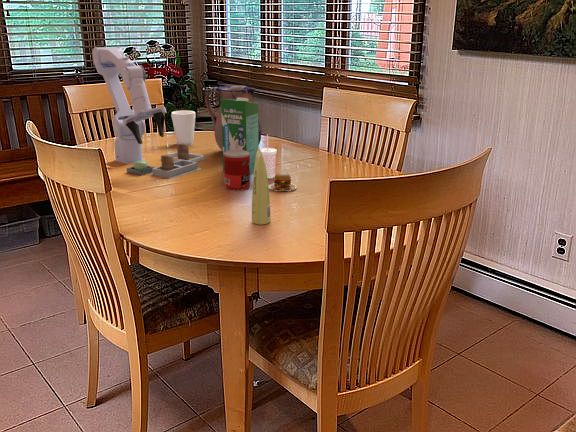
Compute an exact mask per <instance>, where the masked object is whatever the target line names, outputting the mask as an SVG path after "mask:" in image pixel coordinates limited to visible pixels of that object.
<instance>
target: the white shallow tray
mask: <svg viewBox="0 0 576 432" xmlns="http://www.w3.org/2000/svg"><path fill="white" fill-rule="evenodd" d="M170 154H171V155H173V156H174V162H176V161H179V160H182V159H178V154H177V151H176V152H172V153H171V152H170ZM176 157H177V158H176ZM206 158H207V157H206V155H204V154H198V153H193V152H192V153H191V152H189V160H187V161H192V162H197V163H199V162H201V161H206V160H207V159H206Z"/></svg>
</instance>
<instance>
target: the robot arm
mask: <svg viewBox="0 0 576 432" xmlns="http://www.w3.org/2000/svg"><path fill="white" fill-rule="evenodd" d="M123 50H124V49H123V48H121V46H120V45H119V46H107V47H106V46H105V47H104V46H103V47H97V46H94V48H93V49H92V54H91V55H92V61H93V64H94V67H95V69H96V71H97V74H99V75H101V76H102V77H103V79H104V81H105V84H106V86H107V89H108V93H109V94H110V97H111V100H112V103H113V105H114V108H115V111H116V113H115V115H114V116H113V118H112V127H113V131H114V136H116V138H115V140H114V143H113V145H114V146H113V147H114V155H115V159H114V160H113V161H114V162H118V163H123V164H127V165H130V164H131V165H132V164H134V163H133V162H135V161H147V160H146V158H143V146H142V145H143V140H142V138H143V136H144V135H145V133H146V123H145V121H144V120H146V119H150V118H153V119H154V121H155V123H156V127H157V131H158V135H159V137H161V138H164V137H165V136H164V129H165V128H164V127H165V121H166V115H165V114H167V113H168V112H167V109H166V107H165V106H164V105H162V106H158V107H153V108H152V104H151V102H150V97H149V94H148V91H147V90H148V89H147V86H146V83H145V82H146V71H145V68H144V67H143V65H142V64H139V65H136V64H135V63H134V62H133V60H131V59H130V58H129V57H128V56H125V55H124V51H123ZM119 75H121V79H122V82H123V84H124V85H125V89H126V91H128V93H129V97H130V101H131V105H132V109H131V106H130V104H129V101H128V99H127V96H126V94H125V91H124V88H123V85H122V84H121V80H120V78H119Z"/></svg>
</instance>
